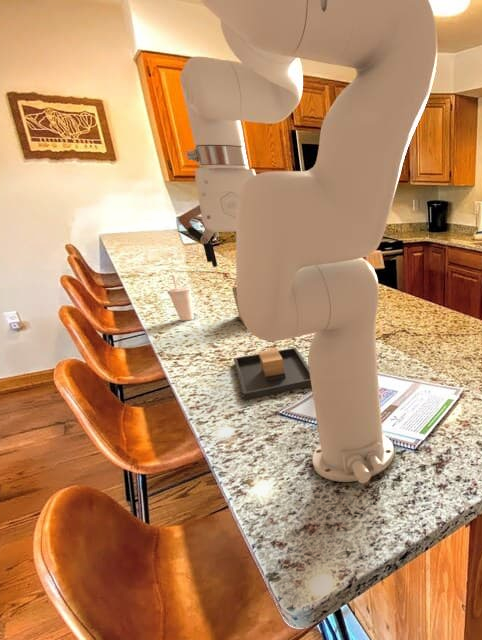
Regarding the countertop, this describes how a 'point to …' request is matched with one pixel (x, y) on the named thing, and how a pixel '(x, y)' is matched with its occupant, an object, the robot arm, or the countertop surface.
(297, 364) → the tray
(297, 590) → the countertop surface
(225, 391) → the countertop surface
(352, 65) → the robot arm
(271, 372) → the wooden block
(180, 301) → the smoothie
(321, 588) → the countertop surface
